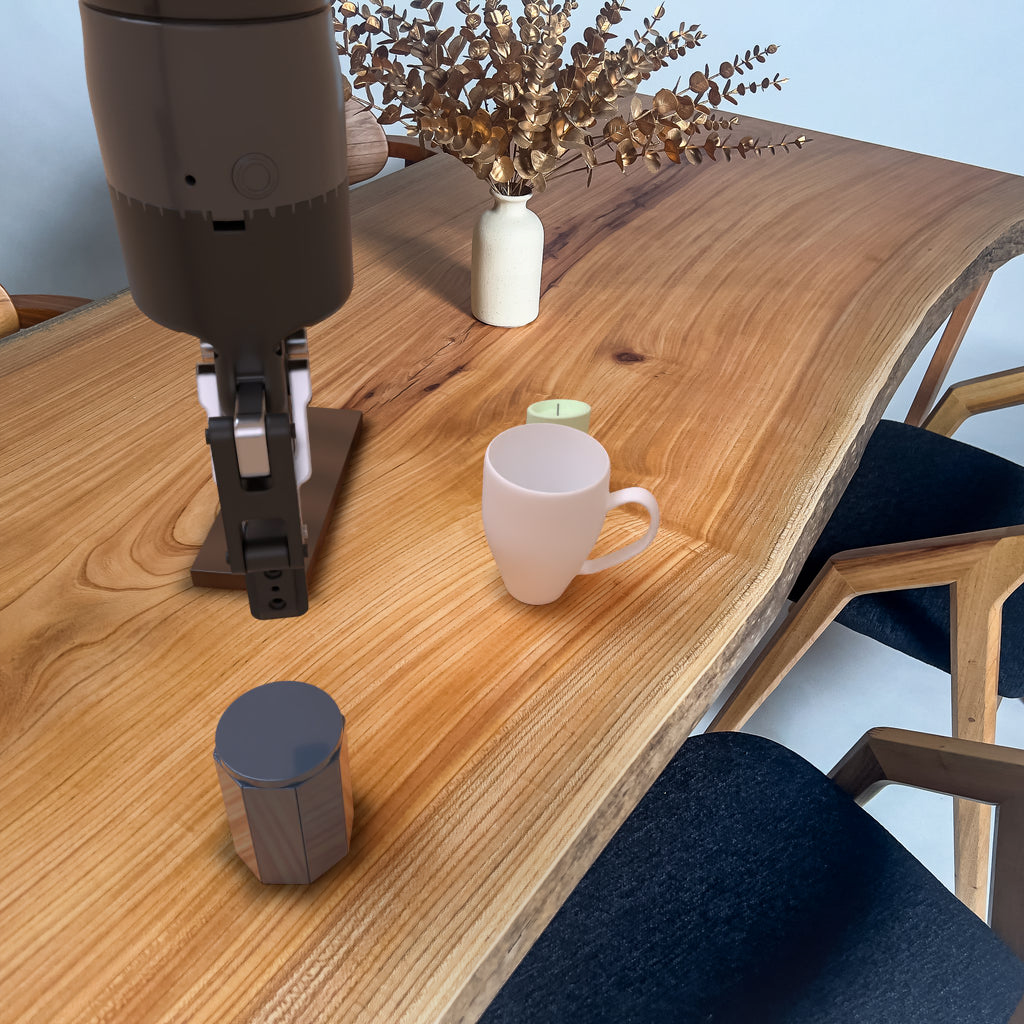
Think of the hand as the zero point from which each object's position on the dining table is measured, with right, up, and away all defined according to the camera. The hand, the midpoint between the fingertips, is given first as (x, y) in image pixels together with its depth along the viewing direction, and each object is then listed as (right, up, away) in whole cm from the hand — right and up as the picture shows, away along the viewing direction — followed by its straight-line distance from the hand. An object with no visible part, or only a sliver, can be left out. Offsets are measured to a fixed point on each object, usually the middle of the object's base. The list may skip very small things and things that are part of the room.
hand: (279, 543), depth 39 cm
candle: (+13, +3, +37) cm, 39 cm away
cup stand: (-8, +3, +33) cm, 34 cm away
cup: (-2, -16, +10) cm, 19 cm away
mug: (+14, -4, +27) cm, 30 cm away
